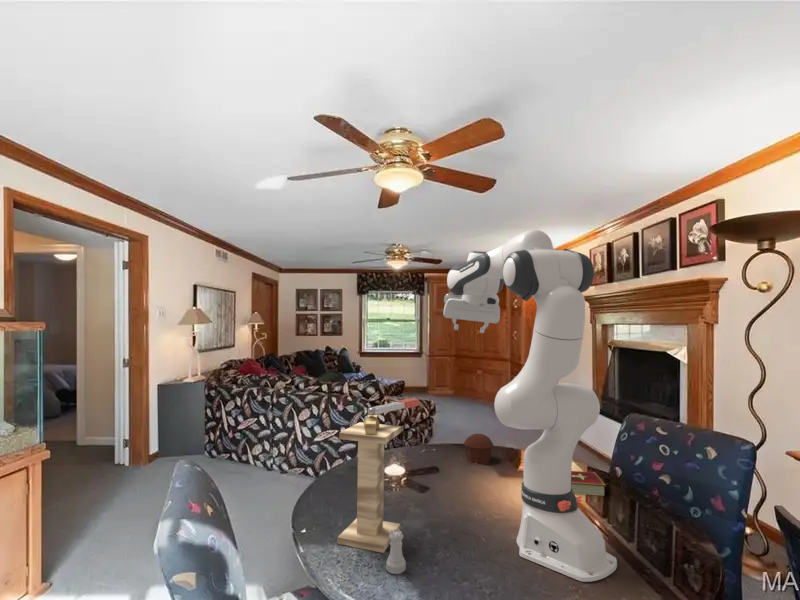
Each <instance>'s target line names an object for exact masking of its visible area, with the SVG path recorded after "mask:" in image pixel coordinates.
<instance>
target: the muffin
mask: <svg viewBox="0 0 800 600" xmlns="http://www.w3.org/2000/svg"><path fill="white" fill-rule="evenodd" d="M463 443H464V448H465V449H464V451H465V455H466V462H468V461H469V462H468V463H470V462H471V463H477V464H485V465H487V464H486V463H488V464H490V462H491V456H492V449H493V448H494V443H493V441H492V439H490V437H488V436H487V435H485V434H483V433H473V434H471V435H469V436H467V438H466V439H465V440H464V442H463ZM471 463H470V464H471ZM477 464H476V465H477Z"/></svg>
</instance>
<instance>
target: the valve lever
mask: <svg viewBox="0 0 800 600" xmlns="http://www.w3.org/2000/svg"><path fill="white" fill-rule="evenodd" d="M419 405H420V399H419V398H414V397H409V398H404V399H400V400H397V401H395V402H389V403H385V404H380V405H376V406H370V407H367V416H368V415H377V416H378V415H380V414H385V413H388V412H394V411H397V410H401V409H410V408H411V409H412V408H415V407H418V406H419Z"/></svg>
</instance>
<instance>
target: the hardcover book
mask: <svg viewBox="0 0 800 600" xmlns="http://www.w3.org/2000/svg"><path fill="white" fill-rule="evenodd" d="M605 487H607V485H606V483H605V482H604V481H603V479H602V478H601V477H600V476H599V475H598V473H597V472H594V471H593V472H592V471H577V470H571V488H572V489H573V492H574V495H575V494H576V495H585V496H586V495H589V496H602V497H604V496H605Z"/></svg>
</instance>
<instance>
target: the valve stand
mask: <svg viewBox="0 0 800 600" xmlns="http://www.w3.org/2000/svg"><path fill="white" fill-rule="evenodd" d="M402 429H403V428H402V426H401V425H392V424H381V423H380V421H379V418H378V414H377V415H368V414H367V417H366V418H365V419H364V420H363V422H362V421H360V422H358V423H355V424H354V425H352V426H350V427H347V428H346V429H343V430H342V431H340V432H339V433H338V436H339V437H338V439H339V440H343V441H344V440H345V441H353V442H358V443H357V488H356V489H357V490H356V491H357V495H356V497H357V498H356V518H355V519H354V520H353V521H352V522H351V523H350V524H349V525H348V527H346V528H345V529H344V530H343V531H341V533H340V534H339V535H338V536H337V539H336V540H337V541H336V544H338V545H342V546H347V547H353V548H357V549H363V550H367V551H371V552H377V553H382V554H384V553H385V552H386V550H387V549H388V548H389V546H391V545H390V542H391V540H390V538H389V535H390V532H391V530H393V532H394V529H396V531H398V529H399V530H400V531H402V530H401V525H402V524H401V523H397V522H391V521H386V520H384V485H385V484H384V482H385V481H384V479H385V477H384V476H385V473H384V472H385V470H384V468H385V467H384V466H385V463H384V462H385V445H386V444H387V443H388V442H390V441H391V440H393V439H394V438H395V437H397V436H398V435H399V434H401V433H403V432H402Z"/></svg>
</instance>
